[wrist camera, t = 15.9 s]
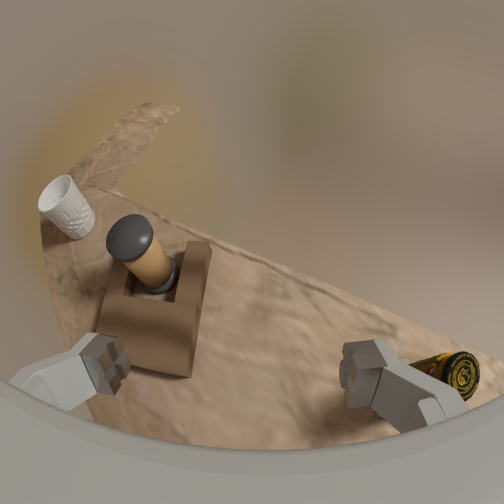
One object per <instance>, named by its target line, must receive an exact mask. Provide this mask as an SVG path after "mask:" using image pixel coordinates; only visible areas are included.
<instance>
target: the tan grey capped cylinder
mask: <svg viewBox="0 0 504 504" xmlns="http://www.w3.org/2000/svg"><path fill="white" fill-rule="evenodd" d="M106 247H107V250H108V252H109V253H110V254H111V255H112V256H113V257H114V258H115V259H116V260H117V261H120V262H123V263H124V264H125V265H126V266H127V267H128V268H129V269H130V270H131V271H132V272H133V273H134V274H135V275H136V276H137V277H138V278H139V279H140V280H141V283H142V285H143V286H144V287H145V288H146V289H147V290H148V291H149V292H151V293H153V294H164V293H166V292H168V291H170V290H171V289H172V288H173V287H174V286H175V285H176V283H177V281H178V278H179V268H178V266H177V264H176V263H175V261H174V260H173V259H172V258H171V257H169V256H168V255H167V254H166V252H165V251H164V249H163V248H162V247H161V245H160V244H159V242H158V241H157V239H156V238H155V236H154V235H153V229H152V226H151V225H150V223H149V221H148V219H147V218H145V217H144V216H142V215H138V214H131V215H127V216H125V217H123V218H121V219H120V220H118V221H117V222H116V223H115V224H114V225H113V226H112V228H111V229H110V231H109V233H108V235H107V239H106Z"/></svg>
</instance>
